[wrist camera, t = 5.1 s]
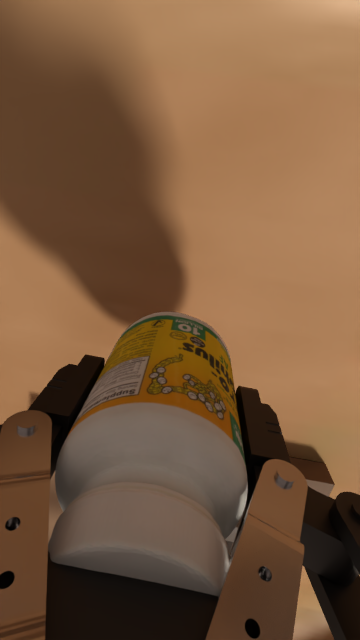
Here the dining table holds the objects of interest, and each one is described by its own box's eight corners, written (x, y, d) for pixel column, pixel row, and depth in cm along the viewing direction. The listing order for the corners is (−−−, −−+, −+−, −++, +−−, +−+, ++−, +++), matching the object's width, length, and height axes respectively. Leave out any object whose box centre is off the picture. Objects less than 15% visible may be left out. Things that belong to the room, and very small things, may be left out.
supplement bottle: (93, 342, 15) (-64, 569, 6) (191, 285, 14) (165, 476, 5) (158, 423, 17) (104, 694, 8) (251, 379, 15) (313, 651, 6)
